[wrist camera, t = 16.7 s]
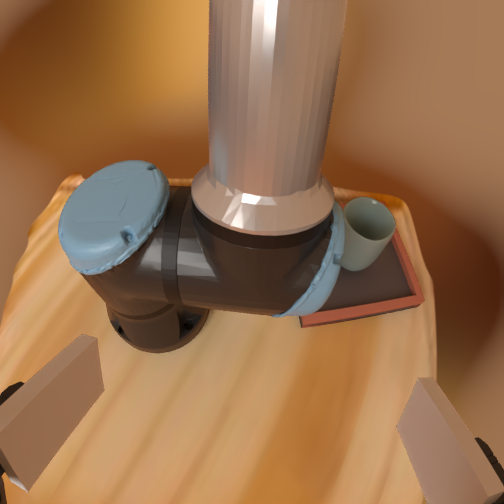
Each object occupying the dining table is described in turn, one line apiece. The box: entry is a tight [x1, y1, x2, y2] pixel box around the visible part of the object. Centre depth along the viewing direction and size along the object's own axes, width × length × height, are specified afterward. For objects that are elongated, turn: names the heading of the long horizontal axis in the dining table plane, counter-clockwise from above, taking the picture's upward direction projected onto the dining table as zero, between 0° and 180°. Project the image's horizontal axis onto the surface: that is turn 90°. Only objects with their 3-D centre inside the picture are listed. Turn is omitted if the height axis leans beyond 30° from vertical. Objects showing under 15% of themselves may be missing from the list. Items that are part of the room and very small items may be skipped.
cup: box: [340, 197, 396, 271], centre depth 44 cm, size 8×8×10 cm
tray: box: [299, 202, 425, 328], centre depth 48 cm, size 20×20×2 cm
